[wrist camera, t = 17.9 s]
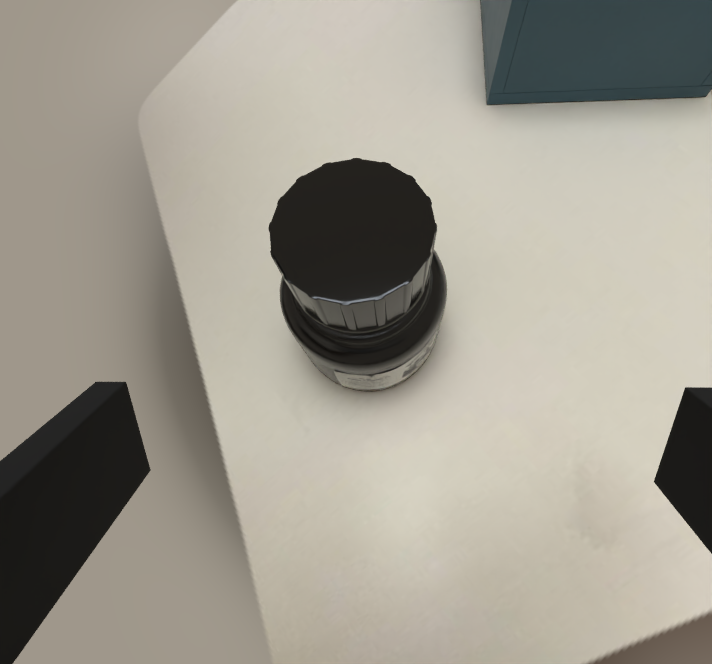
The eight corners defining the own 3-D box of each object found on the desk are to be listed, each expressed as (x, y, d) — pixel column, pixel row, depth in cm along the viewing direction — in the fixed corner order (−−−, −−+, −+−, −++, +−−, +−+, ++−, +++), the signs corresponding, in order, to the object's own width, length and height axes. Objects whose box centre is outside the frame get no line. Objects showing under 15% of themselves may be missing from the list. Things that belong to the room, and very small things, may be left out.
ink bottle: (368, 427, 26) (347, 388, 15) (272, 337, 29) (192, 246, 17) (468, 316, 28) (517, 206, 17) (369, 240, 31) (354, 100, 19)
